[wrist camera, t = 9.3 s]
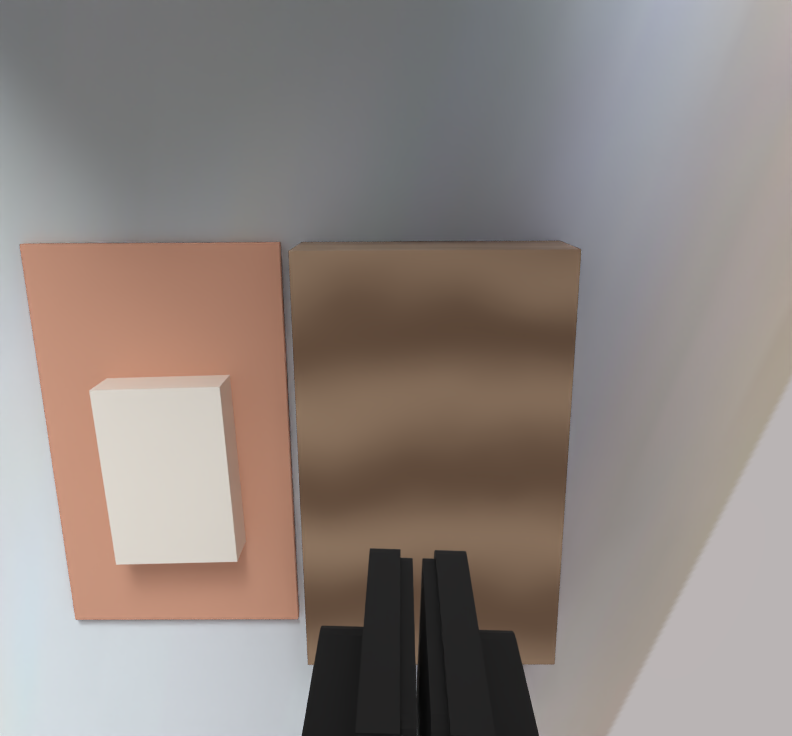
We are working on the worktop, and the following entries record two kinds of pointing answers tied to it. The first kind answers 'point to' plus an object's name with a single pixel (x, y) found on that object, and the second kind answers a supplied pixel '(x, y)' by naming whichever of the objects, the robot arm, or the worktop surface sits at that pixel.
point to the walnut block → (435, 421)
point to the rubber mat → (162, 357)
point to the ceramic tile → (170, 468)
